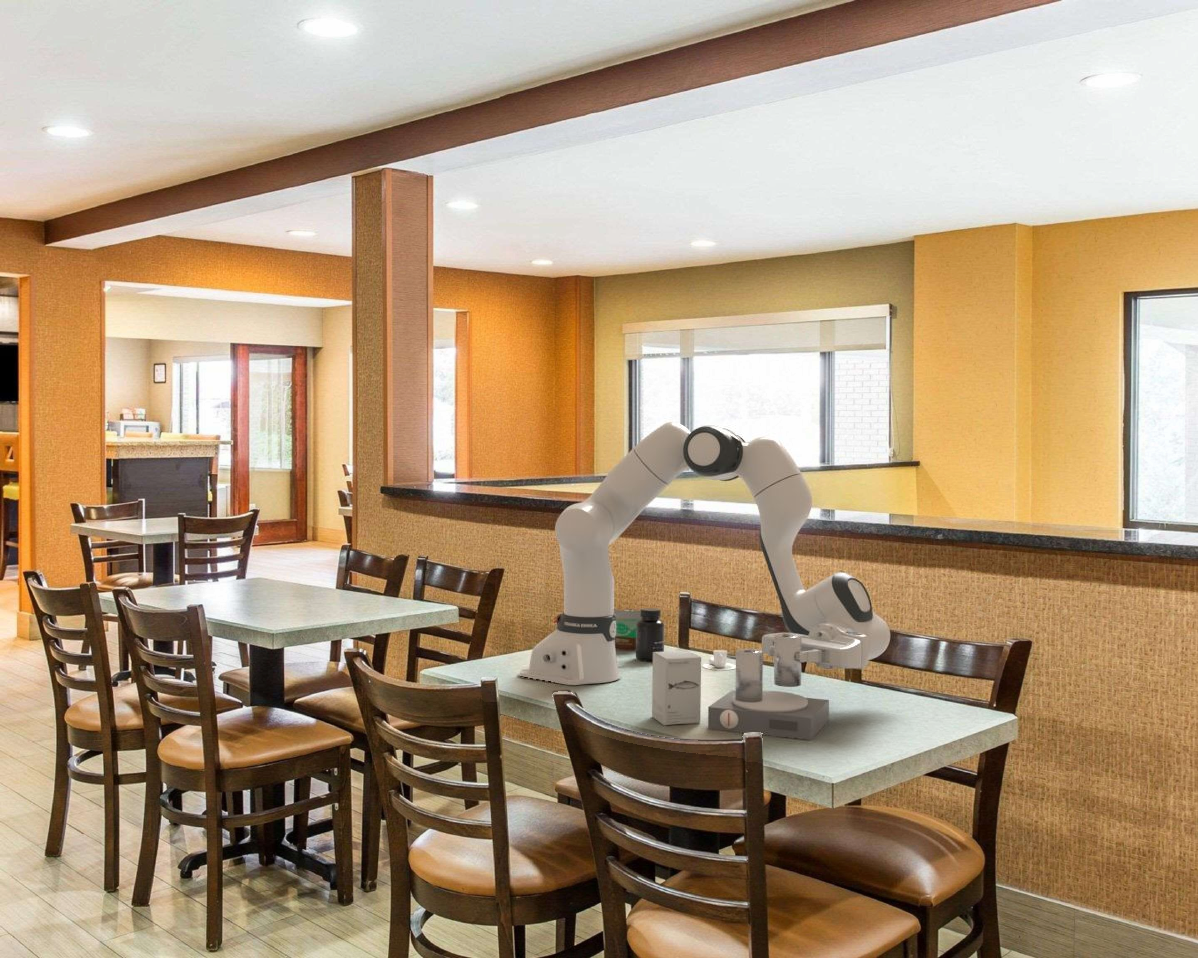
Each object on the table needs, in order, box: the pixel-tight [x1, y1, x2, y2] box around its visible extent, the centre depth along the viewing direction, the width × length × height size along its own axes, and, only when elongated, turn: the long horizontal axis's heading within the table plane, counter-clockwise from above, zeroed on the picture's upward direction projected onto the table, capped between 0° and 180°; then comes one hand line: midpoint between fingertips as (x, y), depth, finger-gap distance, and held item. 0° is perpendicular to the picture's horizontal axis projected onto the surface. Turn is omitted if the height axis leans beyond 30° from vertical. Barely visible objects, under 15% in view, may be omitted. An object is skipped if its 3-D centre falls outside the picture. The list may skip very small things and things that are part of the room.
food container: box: [614, 608, 641, 651], centre depth 285 cm, size 12×6×10 cm, turn 71°
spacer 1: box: [734, 648, 764, 702], centre depth 210 cm, size 5×5×9 cm
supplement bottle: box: [635, 607, 665, 662], centre depth 271 cm, size 7×7×12 cm
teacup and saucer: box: [702, 649, 736, 671], centre depth 264 cm, size 9×8×4 cm
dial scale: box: [707, 689, 830, 741], centre depth 211 cm, size 19×15×5 cm
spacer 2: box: [773, 634, 802, 688], centre depth 211 cm, size 5×5×9 cm
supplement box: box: [651, 650, 702, 727], centre depth 214 cm, size 7×7×13 cm
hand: (784, 654), depth 211 cm, fingers closed on spacer 2, 5 cm apart
